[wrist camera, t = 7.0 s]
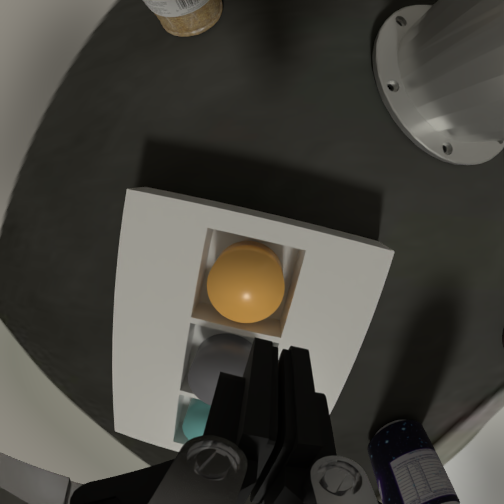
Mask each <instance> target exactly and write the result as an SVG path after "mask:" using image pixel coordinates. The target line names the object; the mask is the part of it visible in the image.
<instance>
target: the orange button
mask: <svg viewBox="0 0 504 504" xmlns="http://www.w3.org/2000/svg"><path fill="white" fill-rule="evenodd" d="M284 289H285V285H284V277H283V269H282V265H281V262H280V260H279V258H278V257H277V255H276V254H275V253H274V252H273V251H272V250H271V249H270V248H269V247H267V246H266V245H264V244H262V243H259V242H255V241H241V242H237V243H234V244H232V245H230V246H228V247H227V248H226V249H225V250H224V251H222V253H221V254H220V255H219V257H218V258H217V260H216V262H215V263H214V265H213V267H212V268H211V270H210V272H209V275H208V278H207V292H208V296H209V299H210V301H211V303H212V305H213V306H214V308H215V309H216V310H217V311H218V312H219V313H220V314H222V315H223V316H224V317H226V318H228V319H230V320H232V321H235V322H240V323H254V322H258V321H261V320H263V319H265V318H267V317H269V316H270V315H271V314H273V313H274V312H275V311H276V310H277V308H278V307H279V305H280V304H281V302H282V299H283V296H284Z"/></svg>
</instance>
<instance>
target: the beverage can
mask: <svg viewBox="0 0 504 504" xmlns="http://www.w3.org/2000/svg"><path fill="white" fill-rule="evenodd" d="M368 453H369V457H370V460H371V463H372V467H373V470H374V474H375V477H376V480H377V484H378V487H379V491H380V495H381V498H382V502H383V504H460V501H459V499H458V497H457V495H456V493H455V491H454V488H453V486H452V484H451V482H450V480H449V478H448V476H447V473H446V471H445V469H444V467H443V465H442V463H441V461H440V459H439V457H438V455H437V453H436V451H435V449H434V447H433V445H432V443H431V441H430V439H429V437H428V436H427V434H426V432H425V430H424V428H423V426H422V424H421V423H420V422H418V421H415V420H396V421H393V422H390V423H388V424H386V425H385V426H383V427H382V428H381V429H380V430H379V431H378V432H377V433H376V434H375V436H374V437H373V438H372V439H371V441H370V443H369V445H368Z"/></svg>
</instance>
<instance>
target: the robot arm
mask: <svg viewBox="0 0 504 504" xmlns="http://www.w3.org/2000/svg"><path fill="white" fill-rule="evenodd" d="M372 60H373V72H374V76H375V81H376V85H377V88H378V91H379V93H380V95H381V98H382V100H383V103H384V105H385V106H386V108H387V110H388V112H389V113H390V115H391V117H392V119H393V120H394V121H395V122H396V124H397V125H398V126H399V128H400V129H401V130H402V132H403V133H404V134H405V135H406V136H407V137H408V138H409V139H410V140H411V141H412V142H413V143H414V144H415V145H416V146H418V147H419V148H421V149H422V150H423V151H425V152H426V153H428V154H429V155H431V156H433V157H435V158H437V159H439V160H441V161H444V162H447V163H451V164H455V165H474V164H481V163H483V162H486V161H488V160H491V159H492V158H493V157H495V156H496V155H497V154H498V153H499V152H500V151H501V150H502V149H503V148H504V0H438V1H437V2H436V3H435V4H434V5H433V6H432V5H411V6H407V7H404V8H402V9H400V10H398V11H396V12H394V13H393V14H392V15H391V16H390V17H389V18H388V19H387V20H386V21H385V22H384V24H383V25H382V26H381V28H380V29H379V31H378V33H377V36H376V38H375V41H374V47H373V53H372ZM387 86H390V87H391V89H392V91H391V90H389V88H388V87H387ZM443 148H444V151H443ZM250 493H251V496H250V501H251V502H254V503H256V504H382V503H380V502H379V501H377V499H376V496H375V494H374V492H373V489H372V487H371V484H370V482H369V479H368V477H367V475H366V473H365V471H364V470H363V468H362V467H361V466H360V465H358V464H357V463H356V462H354V461H352V460H351V459H349V458H345V457H342V456H336V449H335V444H334V438H333V432H332V426H331V421H330V415H329V409H328V404H327V399H326V396H325V394H324V393H318V392H315V386H314V380H313V373H312V367H311V361H310V354H309V350H308V349H304V348H300V347H295V346H290V347H289V349H288V350H287V349H283V350H282V352H281V354H280V357H279V360H278V347H274V346H273V342H272V341H269V340H264V339H260V338H256V337H255V338H254V341H253V344H252V347H251V351H250V354H249V357H248V361H247V364H246V367H245V371H244V374H243V377H240V376H236V375H232V374H228V373H224V372H220V375H219V378H218V382H217V385H216V389H215V393H214V396H213V400H212V404H211V407H210V411H209V415H208V418H207V422H206V426H205V429H204V433H203V436H198V437H194V438H192V439H190V440H188V441H187V442H186V443H185V444H184V445H183V446H182V448H181V449H180V451H179V453H178V454H177V456H176V458H175V459H173V460H170V461H167V462H164V463H161V464H157V465H154V466H151V467H148V468H144V469H141V470H137V471H134V472H130V473H126V474H122V475H118V476H115V477H110V478H106V479H102V480H97V481H93V482H89V483H86V484H80V483H76V482H73V481H70V478H69V477H66V476H63V475H59V474H56V473H53V472H50V471H47V470H44V469H41V468H38V467H36V466H33V465H30V464H27V463H25V462H22V461H20V460H17V459H15V458H12V457H10V456H8V455H5V454H3V453H0V504H244V503H245V502H246V500H247V498H248V496H249V495H250Z"/></svg>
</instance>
